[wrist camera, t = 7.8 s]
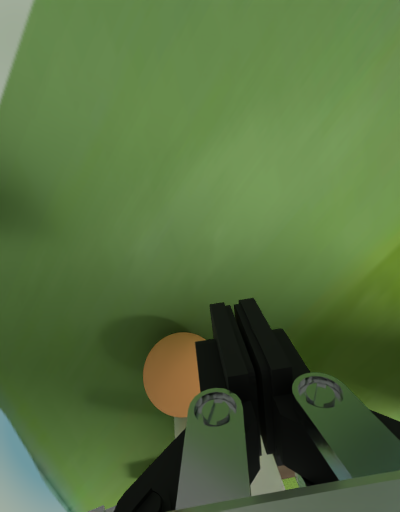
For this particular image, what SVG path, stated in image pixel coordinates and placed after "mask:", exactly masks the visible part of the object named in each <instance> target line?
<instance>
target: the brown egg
mask: <svg viewBox="0 0 400 512" xmlns="http://www.w3.org/2000/svg"><path fill="white" fill-rule="evenodd" d="M203 340H206V339H204V338H202V337H201V336H199V335H196V334H193V333H188V332H179V333H174V334H171V335H168V336H166V337H164V338H163V339H161V340H160V341H159V342H158V343H156V344H155V345H154V347H153V348H152V349H151V351H150V352H149V354H148V356H147V358H146V361H145V364H144V369H143V382H144V387H145V390H146V393H147V395H148V397H149V399H150V401H151V402H152V403H153V404H154V406H155V407H157V408H158V409H159V410H160V411H162V412H163V413H165V414H167V415H170V416H173V417H180V418H184V417H187V415H188V408H189V405H190V402H191V401H192V400H193V398H194V397H195V396H196V395H198V394H199V393H200V383H199V375H198V366H197V357H196V348H195V342H196V341H203Z"/></svg>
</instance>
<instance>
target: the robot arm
mask: <svg viewBox="0 0 400 512" xmlns="http://www.w3.org/2000/svg"><path fill="white" fill-rule="evenodd" d="M234 312H235V317H234V314H233V312H232V309H231V306H230V305H228V306H225V304H224V302H223V303H216V304H210V313H211V320H212V328H213V336H214V339H209V340H203V341H196V342H195V348H196V357H197V366H198V375H199V383H200V393H199V394H198V395H196V396H195V397H194V398H193V400H192V401H191V402H190V405H189V408H188V415H187V423H186V428H185V429H184V430H183V431H182V432H181V433H180V434H179V435H178V436H177V438H176V439H175V440H174V441H173V442H172V443H171V444H170V445H169V446H168V447H167V448H166V449H165V450H164V451H163V452H162V454H161V455H160V456H159V457H158V458H157V459H156V460H155V461H154V462H153V463H152V464H151V465H150V466H149V467H148V468H147V469H146V471H145V472H144V473H143V474H142V475H141V476H140V477H139V478H138V479H137V480H136V481H135V482H134V483H133V484H132V485H131V486H130V488H129V489H128V490H127V491H126V492H125V493H124V494H123V496H122V497H121V498H120V500H119V501H118V503H117V505H116V506H114V507H111V508H109V509H107V510H105V508H104V505H103V506H100V507H98V508H96V509H93V510H91V511H88V512H400V422H399V421H397V420H394V419H392V418H389V417H387V416H384V415H382V414H379V413H377V412H374V411H372V410H369V409H368V408H367V407H366V406H365V405H364V404H363V403H362V402H361V401H360V400H359V399H358V398H357V397H356V396H355V395H354V394H353V393H352V392H351V391H350V390H349V389H348V388H347V387H346V386H345V385H344V384H343V383H342V382H341V381H340V380H338V379H337V378H335V377H333V376H331V375H328V374H324V373H316V372H312V373H310V371H309V370H308V368H307V366H306V365H305V363H304V362H303V360H302V358H301V357H300V355H299V354H298V352H297V351H296V349H295V347H294V346H293V344H292V343H291V341H290V339H289V338H288V336H287V335H286V333H285V332H284V330H283V329H274V330H271V328H270V326H269V324H268V323H267V321H266V319H265V317H264V316H263V314H262V312H261V310H260V308H259V307H258V305H257V303H256V301H255V300H254V298H250V299H243V300H239V304H235V305H234ZM260 435H261V436H260ZM261 438H262V441H263V444H264V448H265V451H266V453H267V455H269V454H273V456H274V459H275V462H276V465H277V466H283V465H284V466H286V467H287V468H289V469H291V470H292V471H294V472H295V478H296V481H297V483H298V485H299V487H300V488H295V489H289V490H284V491H278V492H272V493H267V494H261V495H256V496H251V486H250V485H251V483H252V482H253V480H254V479H255V477H256V475H257V474H258V472H259V470H260V456H262V449H261Z"/></svg>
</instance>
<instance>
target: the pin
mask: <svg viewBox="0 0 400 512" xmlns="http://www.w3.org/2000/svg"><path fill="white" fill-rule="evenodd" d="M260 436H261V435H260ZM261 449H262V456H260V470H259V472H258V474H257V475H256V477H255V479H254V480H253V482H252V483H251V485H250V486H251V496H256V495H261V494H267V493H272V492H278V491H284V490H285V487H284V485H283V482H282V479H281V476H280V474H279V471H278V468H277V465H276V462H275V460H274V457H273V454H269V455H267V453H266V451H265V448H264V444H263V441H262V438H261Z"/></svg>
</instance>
